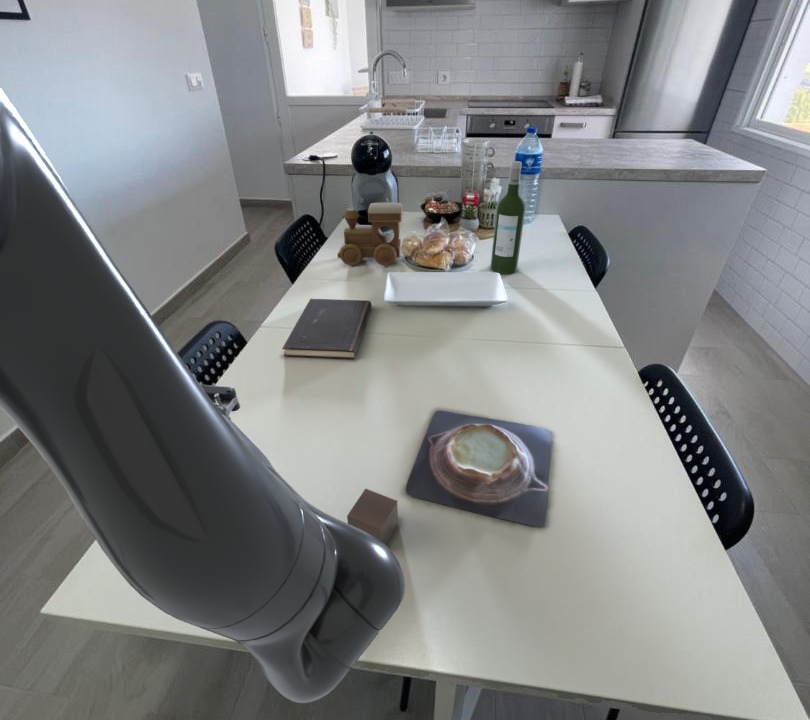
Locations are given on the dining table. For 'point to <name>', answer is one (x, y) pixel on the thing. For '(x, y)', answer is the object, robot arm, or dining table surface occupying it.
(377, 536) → the walnut block
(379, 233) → the wooden toy train
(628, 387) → the dining table surface
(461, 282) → the tray
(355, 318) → the hardcover book
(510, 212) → the wine bottle
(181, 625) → the dining table surface
